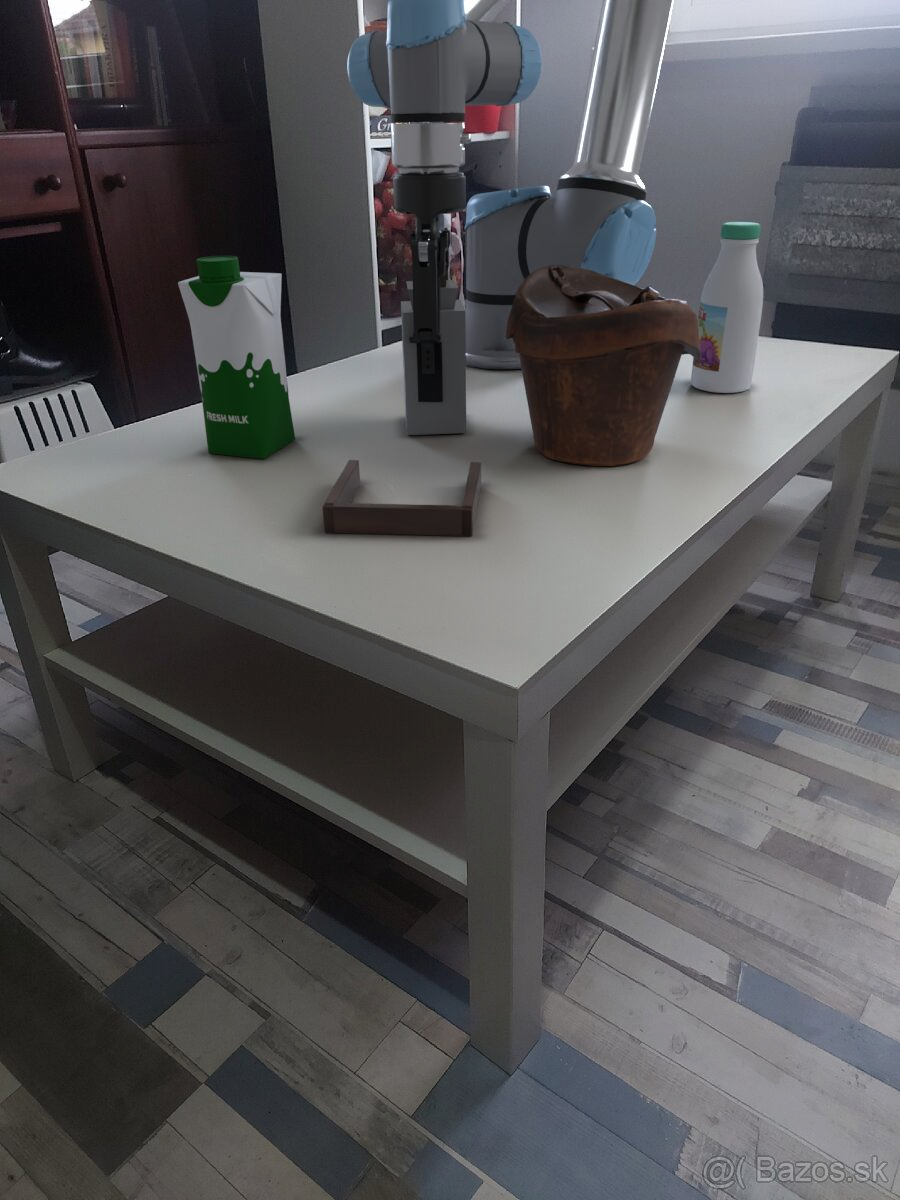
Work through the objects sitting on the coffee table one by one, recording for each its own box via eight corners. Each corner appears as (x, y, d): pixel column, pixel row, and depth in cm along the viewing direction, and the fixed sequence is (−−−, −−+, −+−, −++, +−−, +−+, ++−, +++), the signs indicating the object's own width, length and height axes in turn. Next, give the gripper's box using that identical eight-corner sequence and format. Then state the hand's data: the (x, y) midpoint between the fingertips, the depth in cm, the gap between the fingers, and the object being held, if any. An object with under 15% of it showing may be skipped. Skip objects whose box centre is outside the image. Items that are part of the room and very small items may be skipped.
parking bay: (350, 483, 88) (348, 459, 87) (481, 486, 87) (481, 461, 86) (324, 533, 78) (322, 506, 77) (472, 536, 77) (472, 509, 76)
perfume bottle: (405, 417, 107) (399, 259, 98) (461, 415, 107) (459, 257, 99) (407, 435, 101) (400, 267, 93) (466, 432, 101) (465, 266, 93)
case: (677, 487, 86) (699, 294, 77) (481, 465, 92) (482, 284, 84) (699, 432, 101) (719, 265, 92) (528, 417, 107) (533, 258, 98)
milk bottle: (744, 379, 120) (767, 219, 111) (756, 394, 114) (781, 226, 104) (686, 378, 121) (704, 220, 112) (694, 394, 114) (714, 226, 105)
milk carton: (196, 455, 97) (165, 260, 87) (240, 430, 104) (215, 248, 94) (267, 463, 94) (243, 263, 84) (307, 437, 101) (289, 250, 92)
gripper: (456, 175, 83) (459, 417, 94) (472, 165, 99) (472, 372, 110) (377, 175, 83) (388, 416, 94) (406, 166, 100) (413, 372, 111)
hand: (434, 392), depth 102 cm, fingers closed on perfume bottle, 6 cm apart
